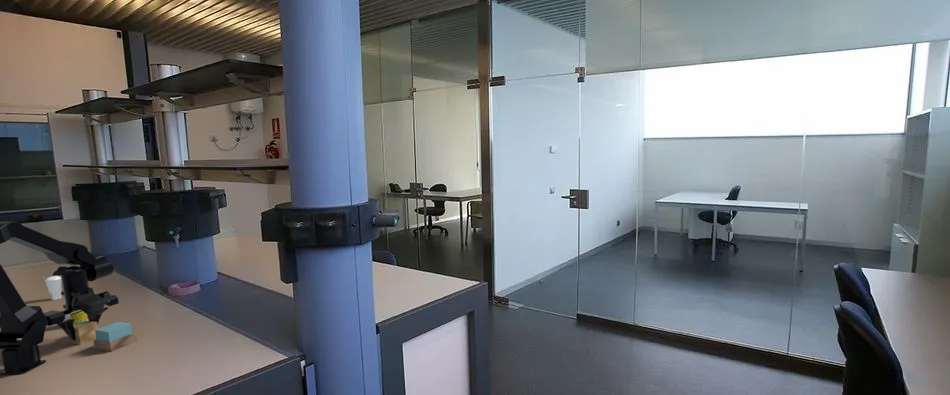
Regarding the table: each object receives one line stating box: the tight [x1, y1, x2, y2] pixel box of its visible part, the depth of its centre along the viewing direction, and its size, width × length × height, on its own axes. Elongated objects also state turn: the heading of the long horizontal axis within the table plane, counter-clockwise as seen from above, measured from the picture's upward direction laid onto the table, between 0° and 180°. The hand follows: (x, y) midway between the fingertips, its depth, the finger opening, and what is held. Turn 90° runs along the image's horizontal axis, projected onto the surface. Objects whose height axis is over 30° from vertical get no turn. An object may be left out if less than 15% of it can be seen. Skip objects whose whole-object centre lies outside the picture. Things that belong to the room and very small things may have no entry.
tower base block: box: [92, 331, 138, 352], centre depth 130 cm, size 7×7×3 cm
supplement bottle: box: [65, 309, 88, 325], centre depth 149 cm, size 5×5×10 cm
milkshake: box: [42, 275, 63, 301], centre depth 178 cm, size 4×5×10 cm
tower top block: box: [95, 321, 133, 342], centre depth 130 cm, size 6×6×3 cm
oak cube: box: [67, 321, 99, 346], centre depth 135 cm, size 5×5×5 cm
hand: (83, 336), depth 135 cm, fingers closed on oak cube, 5 cm apart
